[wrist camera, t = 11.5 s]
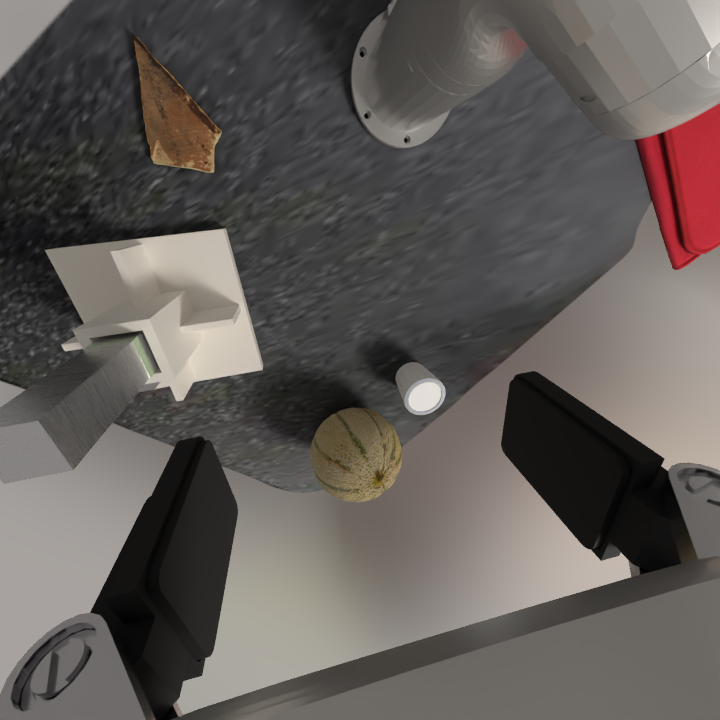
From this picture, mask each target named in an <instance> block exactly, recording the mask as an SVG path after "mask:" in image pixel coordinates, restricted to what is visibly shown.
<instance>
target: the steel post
mask: <svg viewBox="0 0 720 720" xmlns="http://www.w3.org/2000/svg"><path fill="white" fill-rule="evenodd" d="M158 367H159V366H158V364H157V361H156V359H155V357H154V355H153V352H152V350H151V348H150V346H149V344H148V341H147V339H146V337H145V335H144V332H143V330H141V331H134V332H128V333H121V334H115V335H108V336H103V337H102V338H100V339H99V340H97V341H96V342H94V343H91V344H90V345H89V346H87V347H86V348H85V349H84V350H83V351H81V352H80V353H78V354H77V355H75V356H74V357H73V358H71V359H70V360H68V361H67V362H65V363H64V364H62V365H61V366H60V367H58V368H57V369H55V370H54V371H52V372H51V373H49V374H48V375H47V376H45V377H44V378H42V379H41V380H39V381H38V382H36V383H35V384H34V385H32V386H31V387H29V388H28V389H26V390H25V391H23V392H22V393H21V394H19V395H18V396H16V397H15V398H13V399H12V400H10V401H9V402H8V403H6V404H5V405H3V406H2V407H0V479H1V481H3V483H9V482H15V481H20V480H25V479H30V478H35V477H40V476H45V475H50V474H55V473H60V472H65V471H70V470H73V469H74V468H75V467H76V466H77V465H78V464H79V462H80V461H81V460H82V458H83V457H84V456H85V455H86V454H87V453H88V452H89V450H90V449H91V448H92V447H93V445H94V444H95V443H96V442H97V441H98V439H99V438H100V437H101V436H102V435H103V433H104V432H105V431H106V430H107V429H108V427H109V426H110V425H111V424H112V423H113V421H114V420H115V419H116V418H117V417H118V415H119V414H120V413H121V412H122V411H123V409H124V408H125V407H126V406H127V405H128V403H129V402H130V401H131V400H132V399H133V397H134V396H135V395H136V394H137V392H138V391H139V390H140V389H141V388H142V386H143V385H144V384H145V383H146V382H147V380H148V379H149V378H151V377H152V376H153V374H154V373H155V371H156V370H157V368H158Z"/></svg>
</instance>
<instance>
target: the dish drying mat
mask: <svg viewBox="0 0 720 720" xmlns="http://www.w3.org/2000/svg"><path fill="white" fill-rule="evenodd" d="M636 142H637V145H638V148H639V151H640V155H641V159H642V163H643V167H644V171H645V175H646V179H647V183H648V187H649V191H650V195H651V198H652V202H653V205H654V209H655V212H656V215H657V219H658V222H659V226H660V231H661V234H662V237H663V240H664V243H665V246H666V249H667V252H668V256H669V259H670V262H671V264H672V268H673V269H675V270H679V269H681V268H683V267H685V266H687V265H688V264H690V263H691V262H692V261H694V260H695V259H696V258H697V257H699V256H700V255H701V254H705V253H707V252H709V251H711V250H713V249H714V248H716V247H718V246H719V245H720V104H718V105H716V106H715V107H713V108H711V109H709V110H707V111H706V112H704V113H702V114H700V115H699V116H697V117H695V118H693V119H691V120H689V121H687V122H685V123H683V124H681V125H679V126H677V127H675V128H672V129H670V130H667V131H665V132H662V133H660V134H657V135H653V136H650V137H646V138H642V139H636Z"/></svg>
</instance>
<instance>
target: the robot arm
mask: <svg viewBox="0 0 720 720" xmlns="http://www.w3.org/2000/svg"><path fill="white" fill-rule="evenodd" d="M527 47H529V48H530V49H531V51H532V52H533V53H534V54H535V56H536V57H537V58H538V59H539V61H541V62H543V63H544V65H545V66H546V67H547V68H548V70H549V71H550V72H551V73H552V75H553V76H554V77H555V78H556V80H557V81H558V82H559V83H560V85H561V86H562V87H563V88H564V90H565V91H566V92H567V93H568V95H569V96H570V97H571V98H572V100H573V101H574V102H575V103H576V105H577V106H578V107H579V108H580V109H581V110H582V112H583V113H584V114H585V115H586V117H587V118H588V119H589V120H590V121H591V122H592V123H593V124H594V125H595V126H596V127H597V128H598V129H599V130H600V131H602V132H603V133H604V134H606V135H608V136H610V137H613V138H616V139H620V140H636V139H642V138H646V137H650V136H653V135H657V134H660V133H662V132H665V131H667V130H670V129H672V128H675V127H677V126H679V125H681V124H683V123H685V122H687V121H689V120H691V119H693V118H695V117H697V116H699V115H700V114H702V113H704V112H706V111H707V110H709V109H711V108H713V107H715V106H716V105H718V104H720V0H391V3H390V4H389V5H388V7H387V9H386V11H384V12H382V13H381V14H379V15H378V16H377V17H376V18H375V19H374V20H373V21H372V22H371V23H370V24H369V25H368V27H367V28H366V29H365V31H364V32H363V34H362V36H361V38H360V40H359V42H358V44H357V47H356V50H355V53H354V56H353V61H352V66H351V78H350V83H351V95H352V99H353V103H354V107H355V110H356V112H357V115H358V117H359V119H360V121H361V123H362V124H363V126H364V127H365V129H366V130H367V131H368V132H369V133H370V135H371V136H372V137H374V138H375V139H376V140H378V141H379V142H380V143H382V144H384V145H386V146H389V147H393V148H398V149H402V148H410V147H414V146H417V145H419V144H421V143H423V142H425V141H426V140H428V139H429V138H431V137H432V136H433V135H434V134H435V133H436V132H437V131H438V130H439V129H440V127H441V126H442V124H443V123H444V122H445V120H446V118H447V116H448V114H449V112H450V110H451V109H452V108H454V107H455V106H457V105H459V104H460V103H462V102H464V101H465V100H467V99H469V98H470V97H472V96H473V95H475V94H477V93H478V92H480V91H482V90H483V89H485V88H487V87H488V86H490V85H491V84H493V83H494V82H496V81H497V80H499V79H500V78H501V77H502V76H504V75H505V74H506V73H507V72H508V71H509V70H510V69H511V68H512V67H513V66H514V65H515V64H516V62H517V61H518V60H519V59H520V57H521V56H522V55H523V53H524V52H525V50H526V48H527ZM360 53H363V55H364V57H361V56H360ZM365 114H367V115H368V118H367V119H365V117H364V115H365ZM404 138H405V139H406V140H407V142H406V143H404ZM501 446H502V450H503V452H504V453H505V455H506V456H507V457H508V458H509V460H510V461H511V462H512V463H513V464H514V466H515V467H516V468H517V469H518V470H519V471H520V472H521V474H522V475H523V476H524V477H525V478H526V480H527V481H528V482H529V483H530V484H531V485H532V486H533V488H534V489H535V490H536V491H537V492H538V494H539V495H540V496H541V497H542V498H543V499H544V501H545V502H546V503H547V504H548V505H549V506H550V508H551V509H552V510H553V511H554V512H555V513H556V515H557V516H558V517H559V518H560V519H561V521H562V522H563V523H564V524H565V525H566V526H567V527H568V529H569V530H570V531H571V532H572V533H573V535H574V536H575V537H576V538H577V539H578V540H579V542H580V543H581V544H582V545H583V546H584V547H586V548H588V549H591V550H592V551H593V552H594V553H595V554H596V556H597V557H598V558H599V559H600V560H601V561H602V560H605V559H608V558H612V557H616V556H619V555H620V553H622V554H623V555H624V556H625V557H626V558H627V559H628V560H629V566H630V572H631V578H627V579H624V580H621V581H617V582H614V583H611V584H607V585H604V586H600V587H597V588H593V589H590V590H586V591H583V592H580V593H576V594H573V595H570V596H566V597H563V598H559V599H556V600H553V601H549V602H546V603H542V604H539V605H535V606H532V607H529V608H525V609H522V610H519V611H515V612H512V613H508V614H506V615H502V616H498V617H495V618H492V619H489V620H485V621H482V622H478V623H475V624H472V625H468V626H465V627H462V628H459V629H455V630H452V631H449V632H445V633H442V634H438V635H435V636H432V637H428V638H425V639H422V640H418V641H415V642H412V643H409V644H405V645H402V646H399V647H395V648H392V649H389V650H386V651H382V652H379V653H376V654H372V655H369V656H366V657H362V658H359V659H356V660H353V661H349V662H346V663H343V664H340V665H336V666H333V667H330V668H326V669H323V670H320V671H316V672H313V673H310V674H307V675H304V676H300V677H297V678H294V679H290V680H287V681H284V682H281V683H278V684H275V685H271V686H268V687H266V688H262V689H259V690H256V691H253V692H250V693H247V694H244V695H241V696H238V697H235V698H232V699H229V700H226V701H222V702H219V703H216V704H213V705H210V706H207V707H204V708H201V709H198V710H196V711H193V712H190V713H188V714H185V715H183V714H182V713H181V710H180V708H179V706H178V704H177V702H176V701H177V700H178V698H179V697H180V692H181V688H182V684H183V681H185V680H188V679H192V678H195V677H199V676H202V673H203V667H204V663H205V658H206V657H209V656H211V654H212V652H213V650H214V645H215V640H216V634H217V629H218V623H219V618H220V612H221V606H222V601H223V595H224V589H225V584H226V578H227V572H228V567H229V561H230V555H231V550H232V544H233V538H234V533H235V527H236V521H237V515H238V508H237V503H236V500H235V498H234V495H233V493H232V491H231V488H230V486H229V483H228V481H227V479H226V476H225V474H224V471H223V469H222V466H221V464H220V461H219V459H218V457H217V454H216V452H215V449H214V447H213V445H212V443H211V441H210V440H206V441H205V440H204V438H203V437H195V438H190V439H185V440H180V441H178V443H177V444H176V446H175V448H174V450H173V453H172V454H171V456H170V459H169V461H168V463H167V465H166V467H165V469H164V471H163V473H162V475H161V477H160V479H159V481H158V483H157V485H156V487H155V489H154V492H153V494H152V496H150V497H149V498H148V499H147V501H146V502H145V504H144V505H143V508H142V510H141V512H140V514H139V516H138V518H137V520H136V522H135V524H134V526H133V528H132V530H131V532H130V534H129V536H128V538H127V540H126V542H125V544H124V546H123V548H122V550H121V552H120V554H119V556H118V558H117V560H116V562H115V564H114V566H113V568H112V570H111V572H110V574H109V576H108V578H107V580H106V582H105V584H104V586H103V588H102V590H101V592H100V595H99V596H98V598H97V600H96V602H95V604H94V606H93V608H92V610H91V612H90V613H87V614H80V615H77V616H75V617H73V618H70V619H68V620H66V621H64V622H62V623H61V624H59V625H58V626H56V627H55V628H54V629H52V630H50V631H49V632H47V633H46V634H45V635H44V636H43V637H42V638H41V639H40V640H38V641H37V642H36V643H35V644H34V645H33V646H32V647H31V648H30V649H29V650H28V651H27V653H26V654H25V655H24V656H23V657H22V658H21V660H20V661H19V662H18V663H17V665H16V666H15V668H14V669H13V671H12V672H11V674H10V676H9V677H8V678H7V680H6V682H5V685H4V687H3V689H2V692H1V694H0V720H720V471H719V470H717V469H714V468H711V467H708V466H704V465H701V464H694V463H678V464H675V465H673V466H671V468H670V469H669V471H667V470H665V469H664V468H663V467H661V465H662V463H663V461H664V458H663V457H661V456H660V455H658V454H657V453H655V452H654V451H652V450H651V449H650V448H648V447H646V446H645V445H644V444H642V443H641V442H639V441H638V440H636V439H635V438H633V437H632V436H630V435H629V434H628V433H626V432H625V431H623V430H622V429H620V428H619V427H617V426H616V425H614V424H613V423H611V422H610V421H608V420H607V419H605V418H604V417H603V416H601V415H600V414H598V413H597V412H595V411H594V410H592V409H591V408H589V407H588V406H586V405H585V404H583V403H582V402H580V401H579V400H578V399H576V398H575V397H573V396H572V395H570V394H569V393H567V392H566V391H564V390H563V389H561V388H560V387H558V386H557V385H555V384H554V383H553V382H551V381H549V380H548V379H547V378H545V377H543V376H542V375H541V374H539V373H538V372H535V371H532V372H527V373H522V374H517V375H516V376H515V377H514V379H513V380H512V381H511V382H510V385H509V392H508V399H507V406H506V413H505V421H504V427H503V435H502V441H501Z"/></svg>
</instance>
